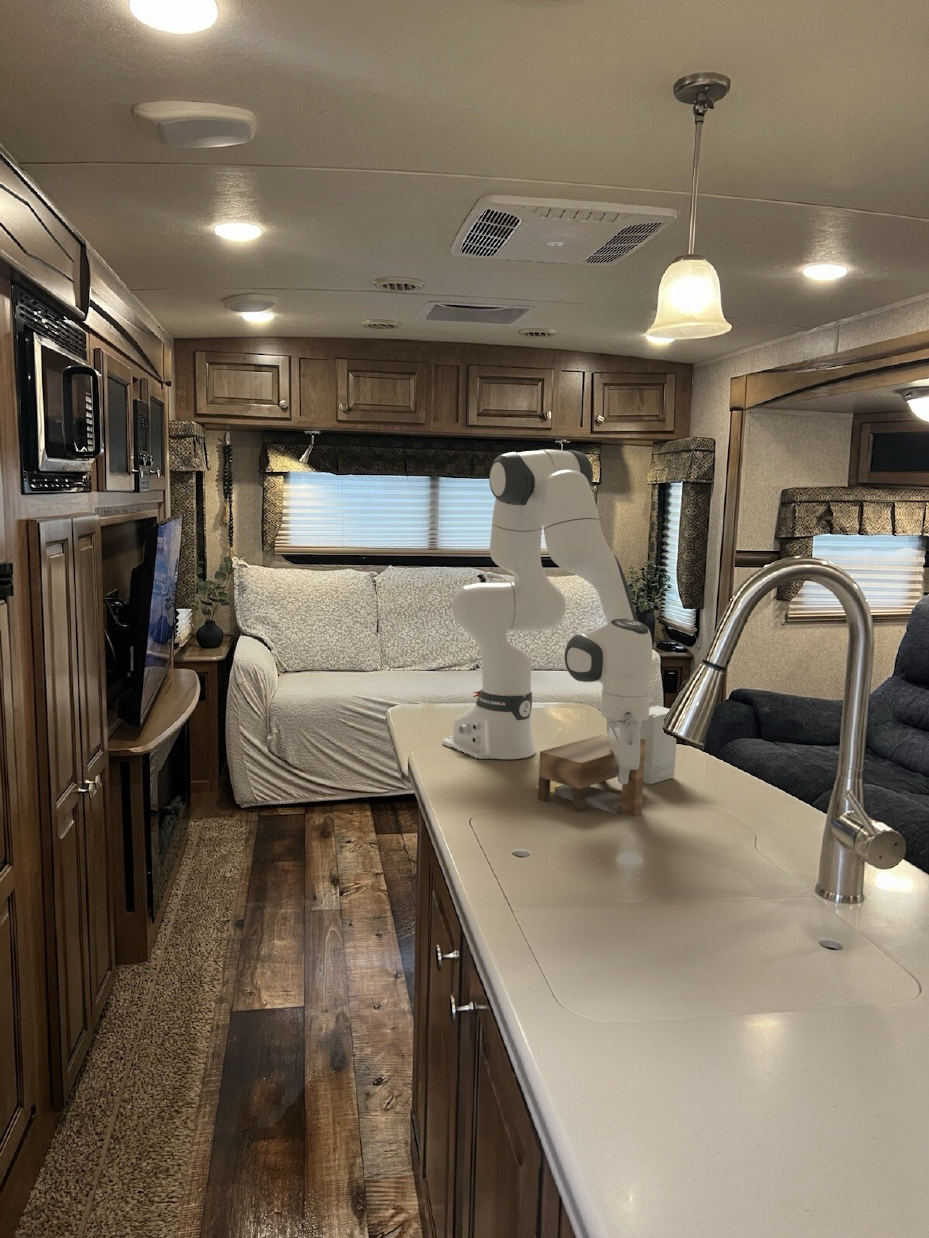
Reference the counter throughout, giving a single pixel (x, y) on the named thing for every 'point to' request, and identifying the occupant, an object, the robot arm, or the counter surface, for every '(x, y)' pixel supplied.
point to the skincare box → (657, 747)
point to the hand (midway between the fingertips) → (621, 779)
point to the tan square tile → (551, 787)
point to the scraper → (611, 801)
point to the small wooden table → (576, 767)
